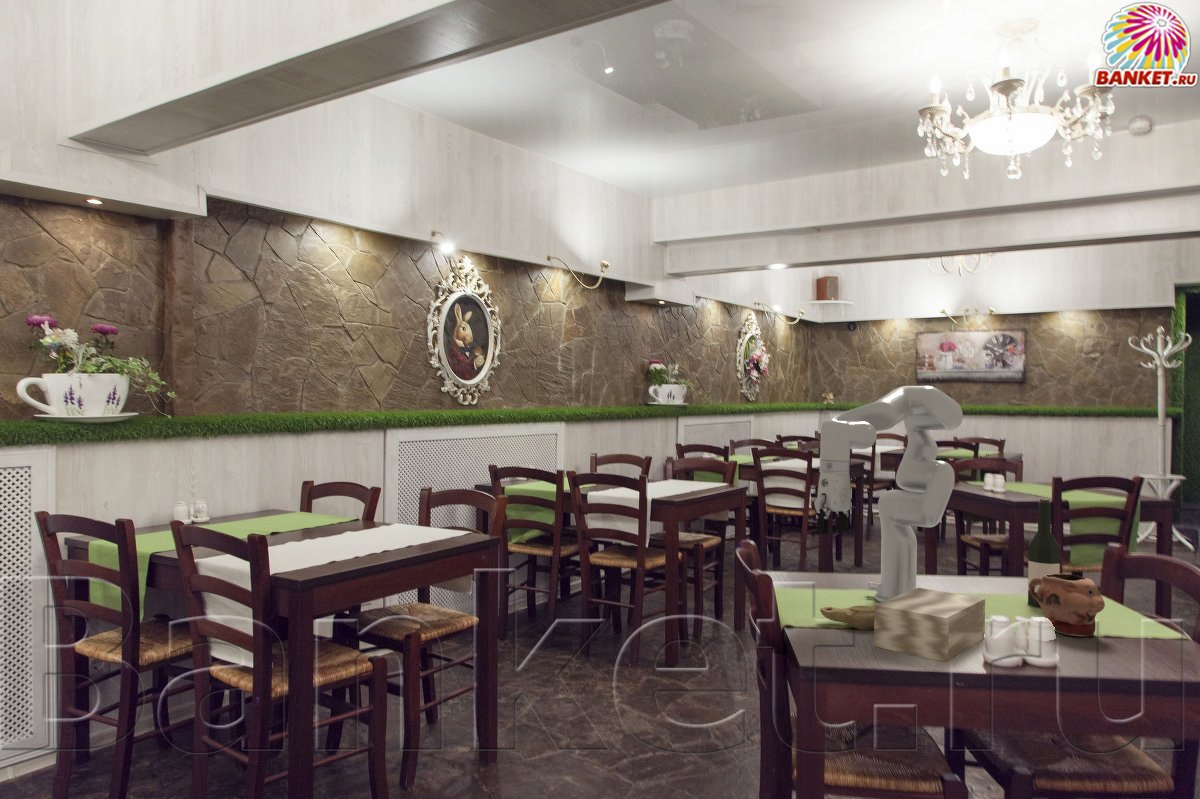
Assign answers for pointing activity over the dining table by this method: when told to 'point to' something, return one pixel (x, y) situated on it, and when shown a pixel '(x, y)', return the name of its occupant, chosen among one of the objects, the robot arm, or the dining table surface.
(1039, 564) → the wine bottle
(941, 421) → the robot arm
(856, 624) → the oil lamp
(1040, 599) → the animal face pitcher
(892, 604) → the mottled beige box
